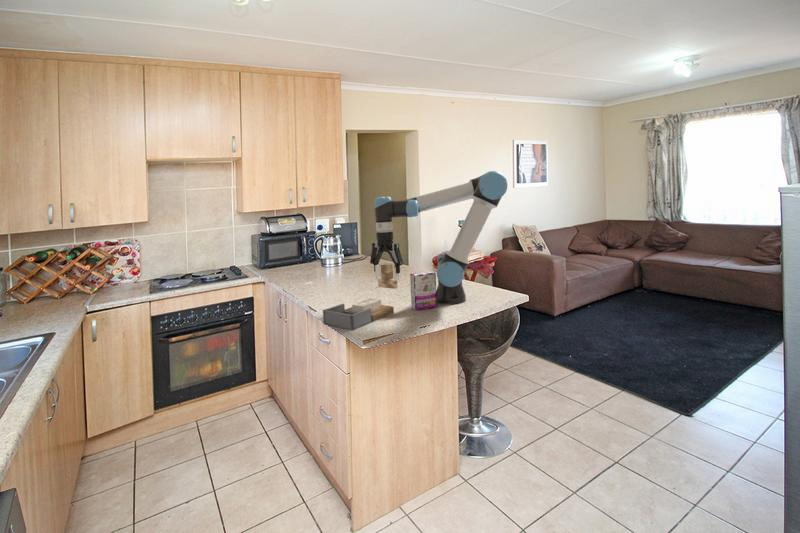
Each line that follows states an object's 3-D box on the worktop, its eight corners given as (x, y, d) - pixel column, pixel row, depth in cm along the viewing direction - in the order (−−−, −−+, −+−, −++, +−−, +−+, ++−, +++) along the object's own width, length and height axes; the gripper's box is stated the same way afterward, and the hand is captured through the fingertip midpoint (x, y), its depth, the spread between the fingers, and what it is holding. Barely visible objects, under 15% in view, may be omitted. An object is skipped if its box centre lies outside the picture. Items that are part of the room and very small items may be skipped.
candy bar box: (431, 304, 205) (431, 270, 202) (437, 307, 200) (436, 272, 197) (410, 308, 200) (409, 273, 197) (415, 310, 196) (414, 275, 193)
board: (393, 313, 193) (393, 306, 192) (372, 322, 181) (372, 315, 180) (366, 308, 202) (365, 302, 202) (344, 316, 190) (343, 309, 189)
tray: (371, 322, 180) (371, 308, 179) (352, 330, 171) (352, 315, 170) (343, 316, 190) (342, 303, 189) (323, 324, 180) (322, 310, 179)
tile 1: (372, 310, 188) (371, 303, 187) (363, 313, 183) (362, 306, 183) (361, 308, 191) (361, 301, 191) (352, 311, 187) (352, 304, 186)
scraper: (399, 287, 199) (397, 264, 197) (394, 289, 196) (392, 265, 194) (382, 285, 205) (380, 262, 203) (376, 287, 202) (375, 264, 200)
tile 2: (381, 306, 193) (380, 299, 193) (372, 309, 188) (372, 303, 188) (370, 304, 197) (370, 298, 196) (362, 307, 192) (361, 301, 191)
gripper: (360, 232, 200) (363, 279, 203) (400, 232, 187) (402, 283, 190) (370, 230, 206) (373, 276, 209) (409, 230, 193) (412, 279, 196)
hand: (387, 279), depth 200 cm, fingers closed on scraper, 10 cm apart
